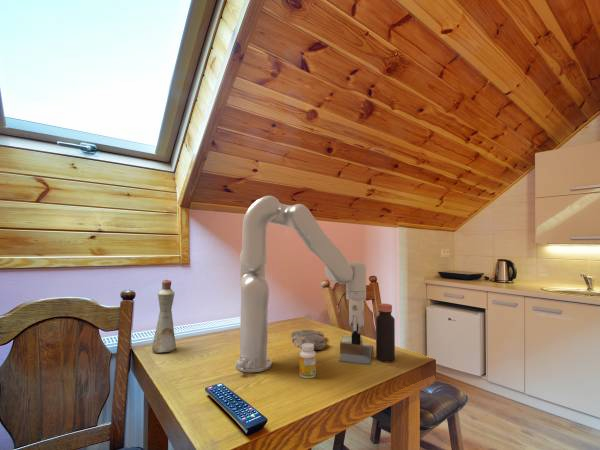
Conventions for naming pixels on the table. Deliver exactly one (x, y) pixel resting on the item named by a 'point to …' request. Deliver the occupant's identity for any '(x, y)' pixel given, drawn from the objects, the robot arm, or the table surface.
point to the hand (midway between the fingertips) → (356, 343)
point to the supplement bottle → (307, 361)
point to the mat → (359, 356)
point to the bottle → (165, 321)
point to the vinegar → (385, 334)
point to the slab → (350, 346)
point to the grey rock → (309, 338)
